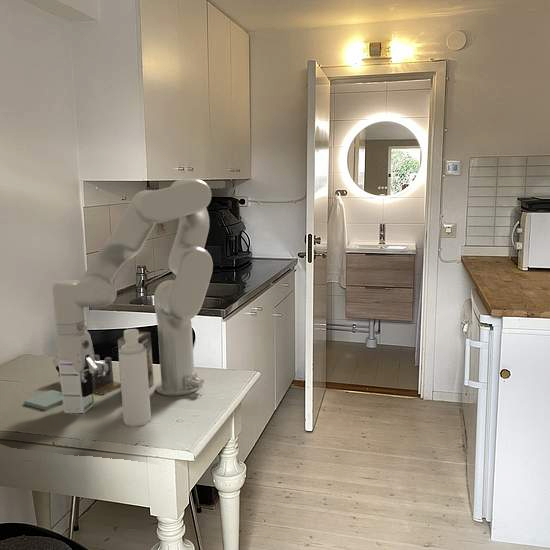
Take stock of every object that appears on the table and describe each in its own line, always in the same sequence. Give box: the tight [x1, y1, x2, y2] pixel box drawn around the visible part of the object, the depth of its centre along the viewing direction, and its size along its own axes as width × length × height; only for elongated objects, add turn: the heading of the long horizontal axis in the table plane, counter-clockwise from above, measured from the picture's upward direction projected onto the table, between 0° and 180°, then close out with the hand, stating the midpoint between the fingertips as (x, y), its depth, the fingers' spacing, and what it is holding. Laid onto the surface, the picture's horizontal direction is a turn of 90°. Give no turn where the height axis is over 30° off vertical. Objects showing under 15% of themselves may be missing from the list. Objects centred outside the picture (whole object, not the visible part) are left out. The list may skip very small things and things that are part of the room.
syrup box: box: [59, 360, 95, 415], centre depth 150 cm, size 6×6×14 cm
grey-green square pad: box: [23, 389, 63, 411], centre depth 157 cm, size 9×9×1 cm
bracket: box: [92, 354, 121, 395], centre depth 166 cm, size 12×7×8 cm, turn 60°
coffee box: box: [117, 331, 155, 395], centre depth 163 cm, size 9×6×16 cm
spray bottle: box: [117, 328, 152, 427], centre depth 141 cm, size 7×7×25 cm
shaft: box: [95, 361, 109, 375], centre depth 169 cm, size 18×5×5 cm, turn 60°
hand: (77, 392), depth 150 cm, fingers closed on syrup box, 7 cm apart
